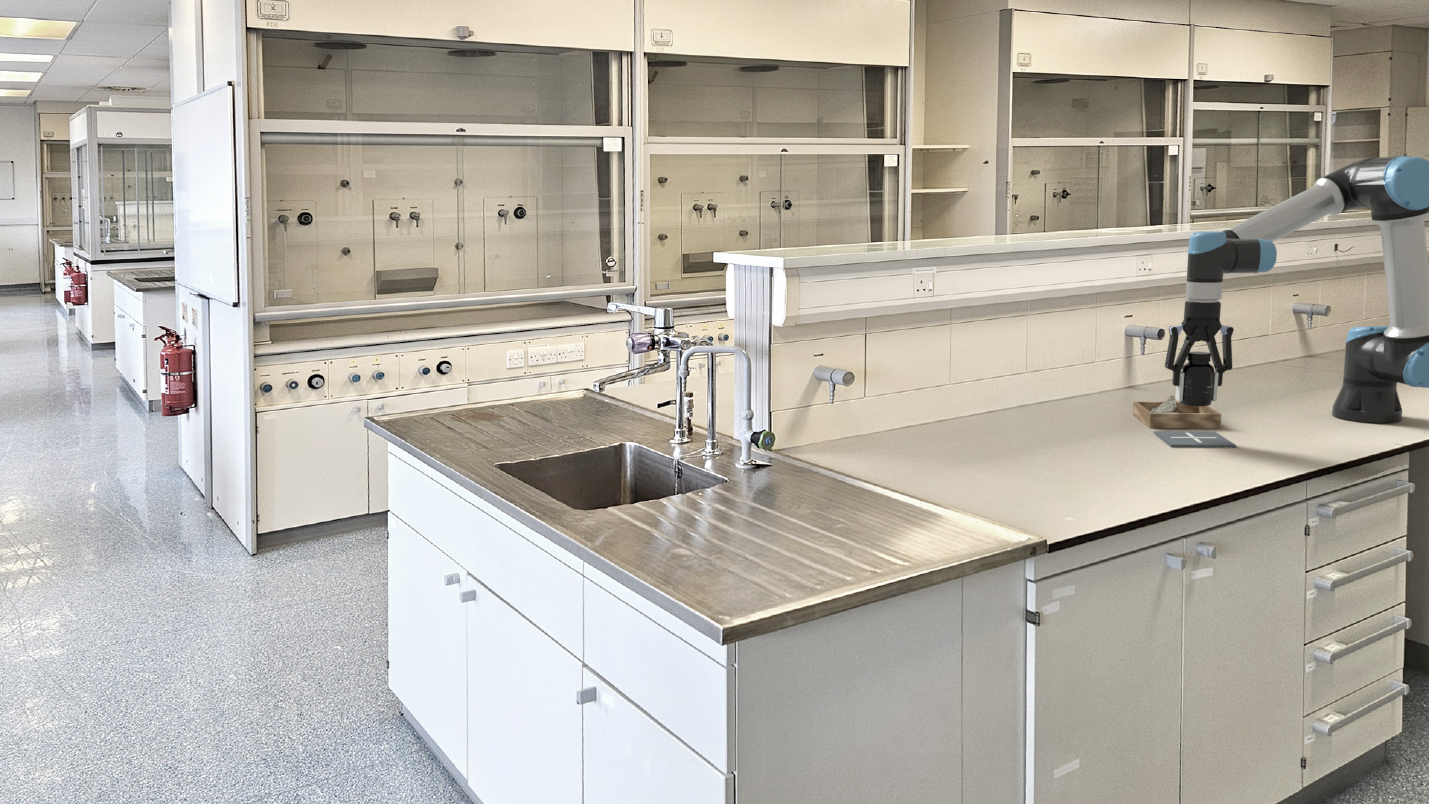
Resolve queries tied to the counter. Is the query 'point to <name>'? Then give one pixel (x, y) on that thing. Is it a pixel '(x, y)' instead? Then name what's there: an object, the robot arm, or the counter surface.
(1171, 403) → the rock sample
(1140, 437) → the counter surface
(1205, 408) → the tray
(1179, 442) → the rest mat
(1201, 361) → the supplement bottle
